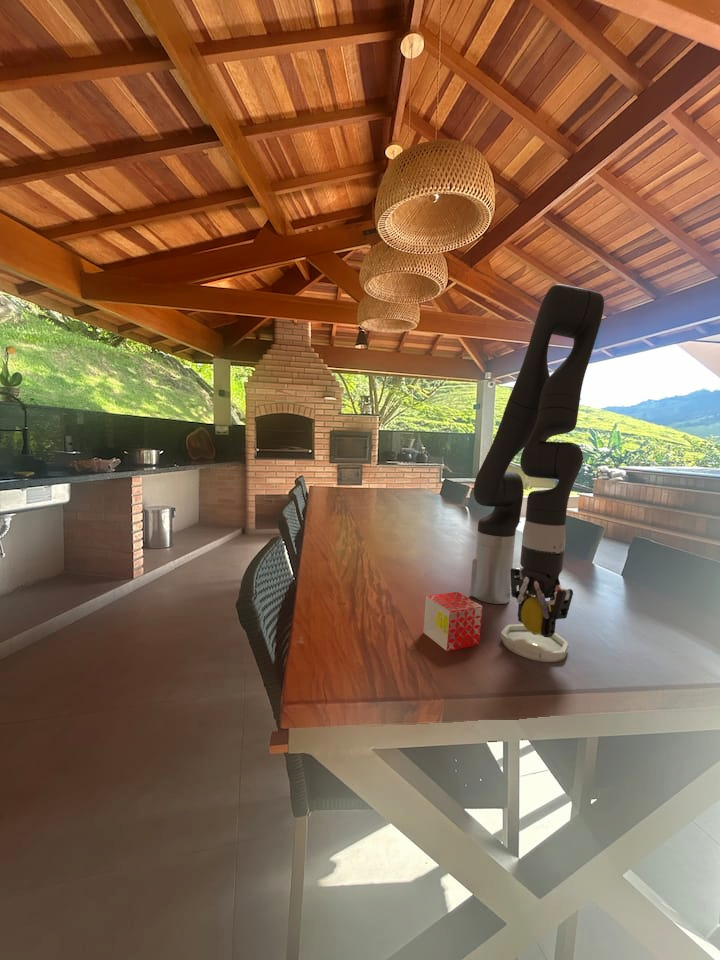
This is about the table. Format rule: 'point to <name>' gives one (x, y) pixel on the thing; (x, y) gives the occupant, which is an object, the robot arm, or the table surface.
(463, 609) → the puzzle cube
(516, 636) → the dish
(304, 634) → the table surface
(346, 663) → the table surface
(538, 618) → the lemon
